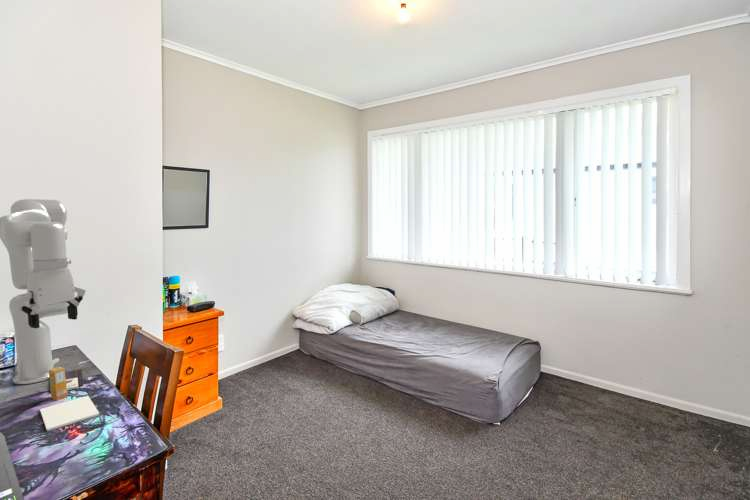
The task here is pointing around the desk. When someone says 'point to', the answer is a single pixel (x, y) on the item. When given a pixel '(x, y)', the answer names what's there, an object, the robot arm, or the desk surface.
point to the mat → (68, 413)
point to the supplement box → (57, 383)
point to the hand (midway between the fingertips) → (54, 323)
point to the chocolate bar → (73, 379)
